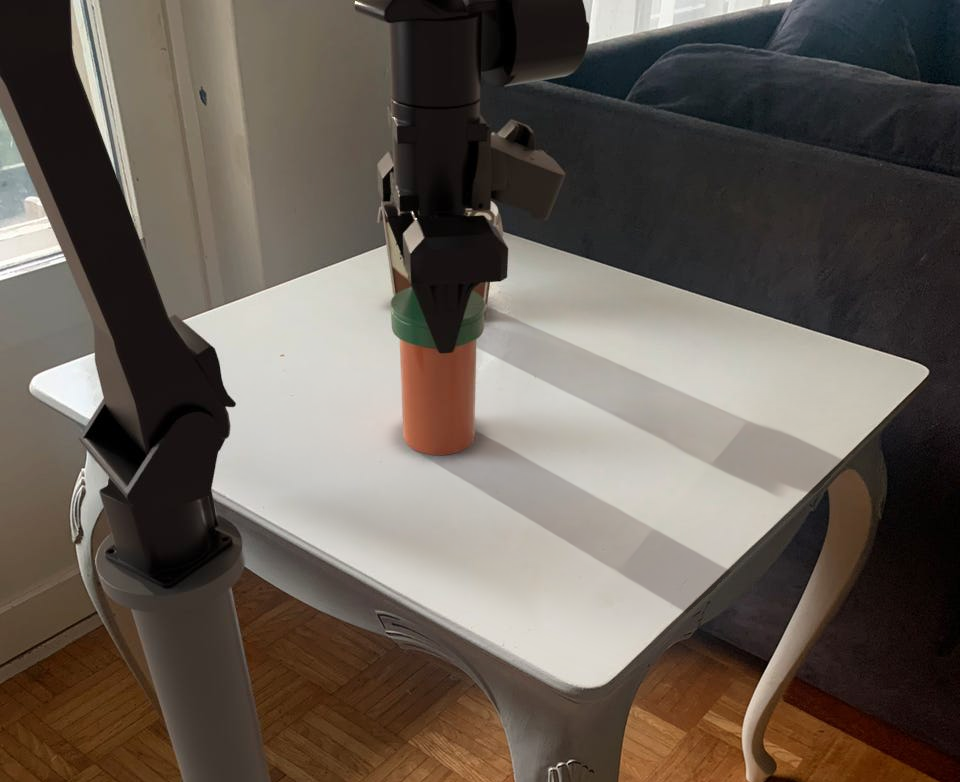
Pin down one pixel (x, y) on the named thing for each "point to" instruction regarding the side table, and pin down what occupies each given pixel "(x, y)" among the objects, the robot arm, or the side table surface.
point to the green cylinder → (415, 329)
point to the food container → (395, 260)
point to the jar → (438, 398)
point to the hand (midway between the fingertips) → (438, 330)
